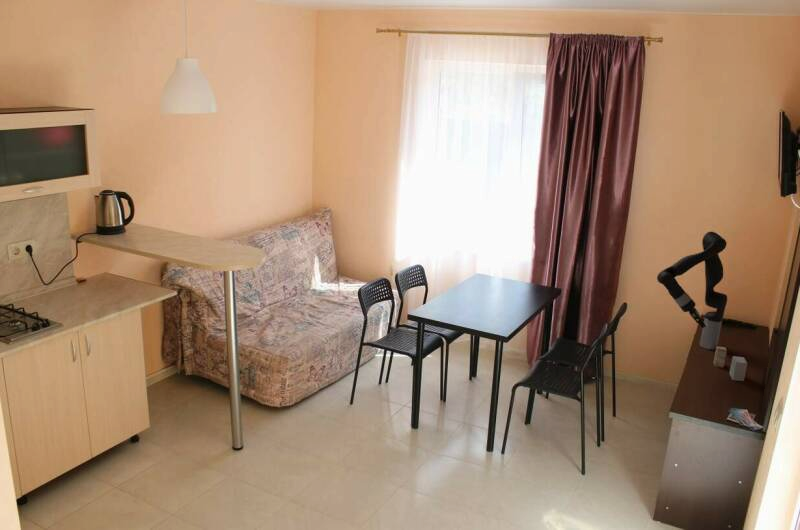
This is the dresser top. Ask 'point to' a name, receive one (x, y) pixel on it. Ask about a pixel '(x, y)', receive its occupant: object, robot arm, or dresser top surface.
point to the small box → (738, 368)
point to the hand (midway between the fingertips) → (703, 324)
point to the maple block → (720, 356)
